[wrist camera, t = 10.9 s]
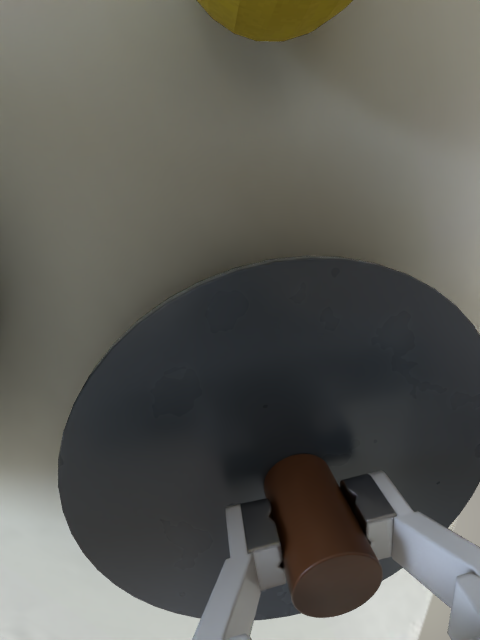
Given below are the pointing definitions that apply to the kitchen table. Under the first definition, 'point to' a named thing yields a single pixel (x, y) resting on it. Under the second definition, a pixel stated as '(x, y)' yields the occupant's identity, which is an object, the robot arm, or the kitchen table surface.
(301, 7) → the lemon
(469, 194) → the kitchen table surface
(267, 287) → the lid
